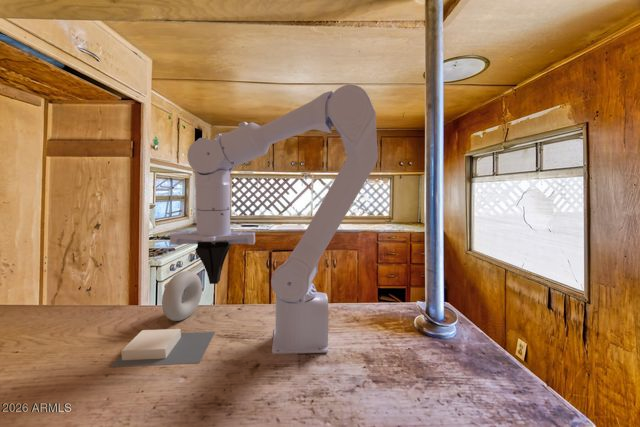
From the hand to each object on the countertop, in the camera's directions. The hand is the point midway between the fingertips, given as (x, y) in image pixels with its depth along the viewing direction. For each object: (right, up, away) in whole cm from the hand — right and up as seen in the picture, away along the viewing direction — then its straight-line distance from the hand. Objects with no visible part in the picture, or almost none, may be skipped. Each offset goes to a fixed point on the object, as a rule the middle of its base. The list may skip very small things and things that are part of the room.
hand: (214, 282), depth 51 cm
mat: (-6, -10, -5) cm, 13 cm away
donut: (-9, -9, +6) cm, 14 cm away
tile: (-5, -9, -5) cm, 11 cm away
